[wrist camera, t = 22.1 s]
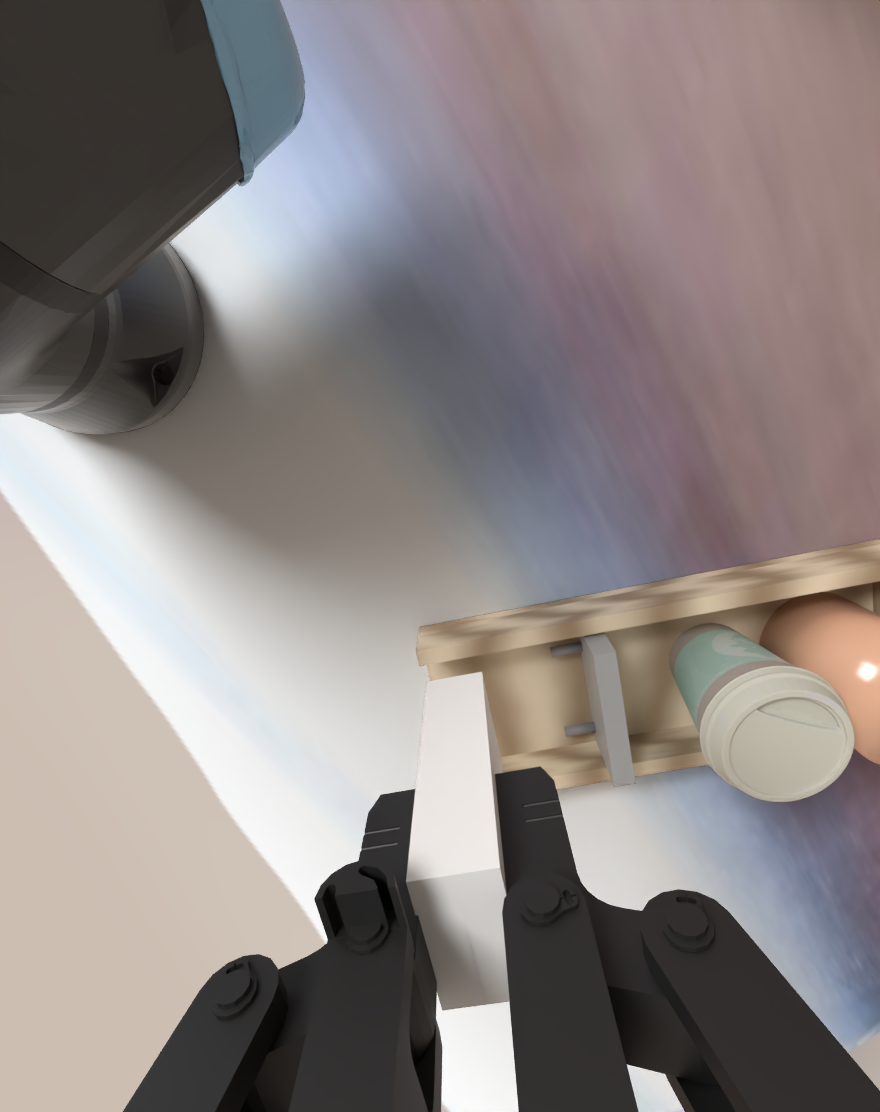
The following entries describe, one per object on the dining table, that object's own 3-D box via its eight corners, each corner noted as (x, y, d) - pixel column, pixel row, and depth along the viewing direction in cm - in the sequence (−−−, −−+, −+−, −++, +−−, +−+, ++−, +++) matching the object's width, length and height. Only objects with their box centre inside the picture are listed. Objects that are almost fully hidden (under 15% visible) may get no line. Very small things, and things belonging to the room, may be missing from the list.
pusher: (566, 743, 48) (581, 792, 42) (545, 627, 45) (558, 662, 39) (613, 735, 48) (635, 783, 42) (595, 617, 45) (615, 651, 39)
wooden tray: (454, 770, 50) (454, 820, 44) (419, 626, 47) (414, 660, 41) (882, 697, 47) (941, 740, 42) (879, 539, 44) (943, 562, 38)
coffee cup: (786, 660, 45) (895, 753, 34) (695, 726, 47) (769, 835, 36) (719, 583, 44) (808, 652, 32) (627, 654, 46) (681, 743, 34)
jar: (762, 697, 46) (848, 778, 37) (755, 603, 44) (843, 663, 34) (866, 677, 46) (980, 753, 36) (863, 581, 44) (984, 635, 34)
